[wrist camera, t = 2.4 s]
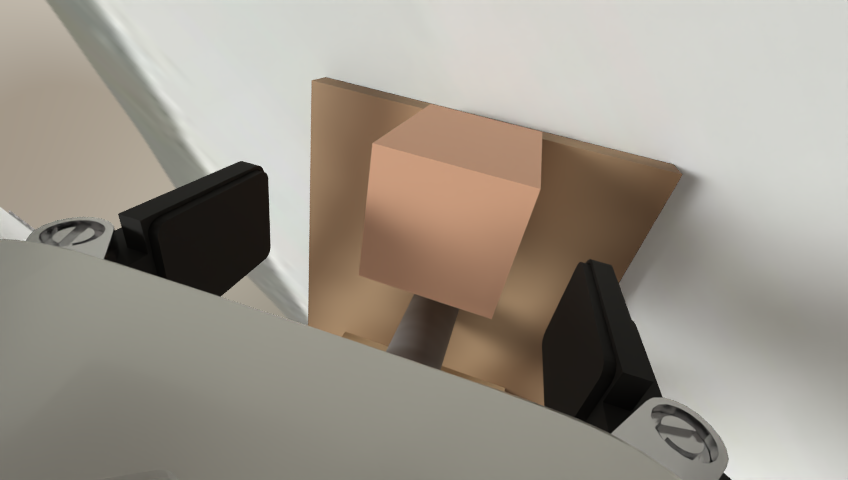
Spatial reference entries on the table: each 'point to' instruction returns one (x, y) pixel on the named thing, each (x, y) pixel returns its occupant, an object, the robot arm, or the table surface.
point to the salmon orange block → (449, 206)
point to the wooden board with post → (532, 267)
